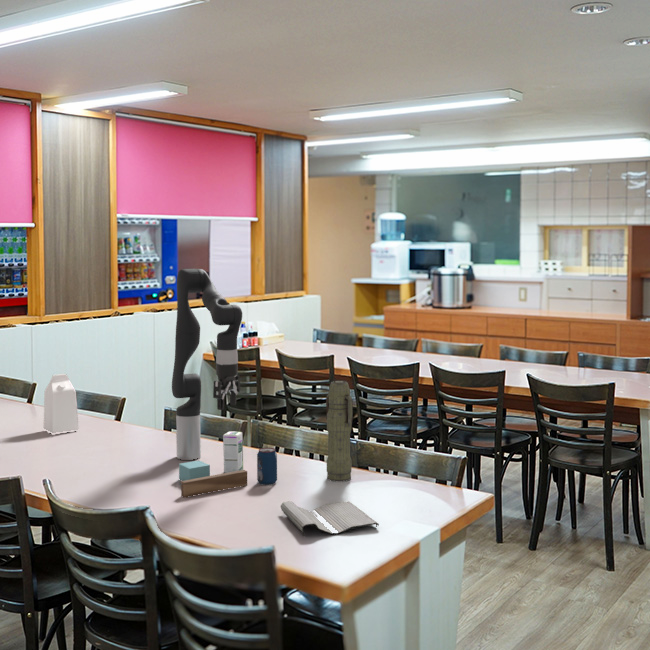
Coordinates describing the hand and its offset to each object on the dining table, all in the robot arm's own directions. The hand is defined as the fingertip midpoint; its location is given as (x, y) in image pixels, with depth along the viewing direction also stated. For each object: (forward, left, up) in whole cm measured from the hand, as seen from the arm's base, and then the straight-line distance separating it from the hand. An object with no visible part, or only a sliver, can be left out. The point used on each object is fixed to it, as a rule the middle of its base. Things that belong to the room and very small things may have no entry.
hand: (226, 407), depth 277 cm
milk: (-114, -22, -27) cm, 119 cm away
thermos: (+21, +33, -26) cm, 48 cm away
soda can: (+11, +9, -26) cm, 30 cm away
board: (+8, -10, -26) cm, 29 cm away
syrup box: (-9, +7, -26) cm, 29 cm away
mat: (+56, +2, -27) cm, 62 cm away
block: (-7, -10, -26) cm, 29 cm away
